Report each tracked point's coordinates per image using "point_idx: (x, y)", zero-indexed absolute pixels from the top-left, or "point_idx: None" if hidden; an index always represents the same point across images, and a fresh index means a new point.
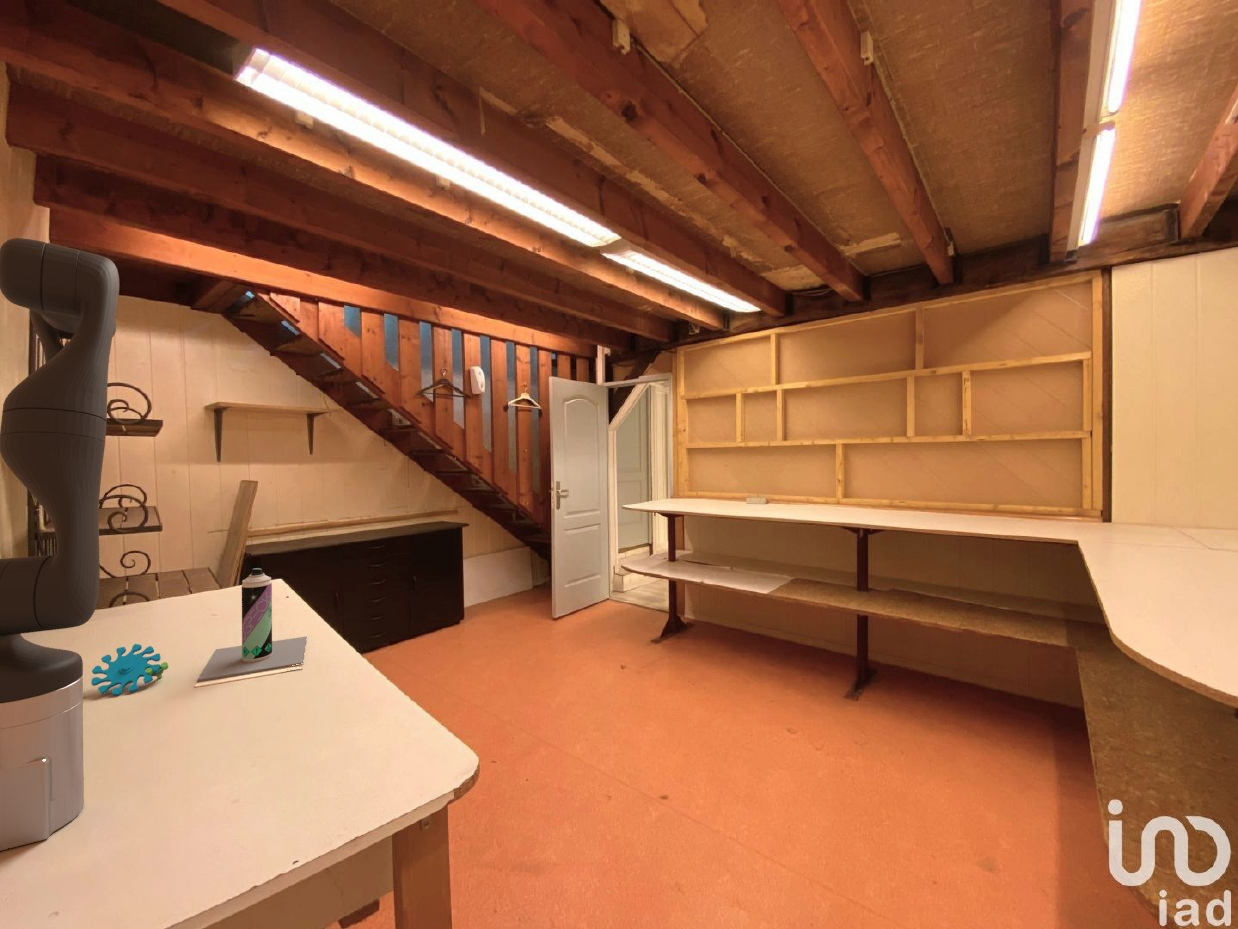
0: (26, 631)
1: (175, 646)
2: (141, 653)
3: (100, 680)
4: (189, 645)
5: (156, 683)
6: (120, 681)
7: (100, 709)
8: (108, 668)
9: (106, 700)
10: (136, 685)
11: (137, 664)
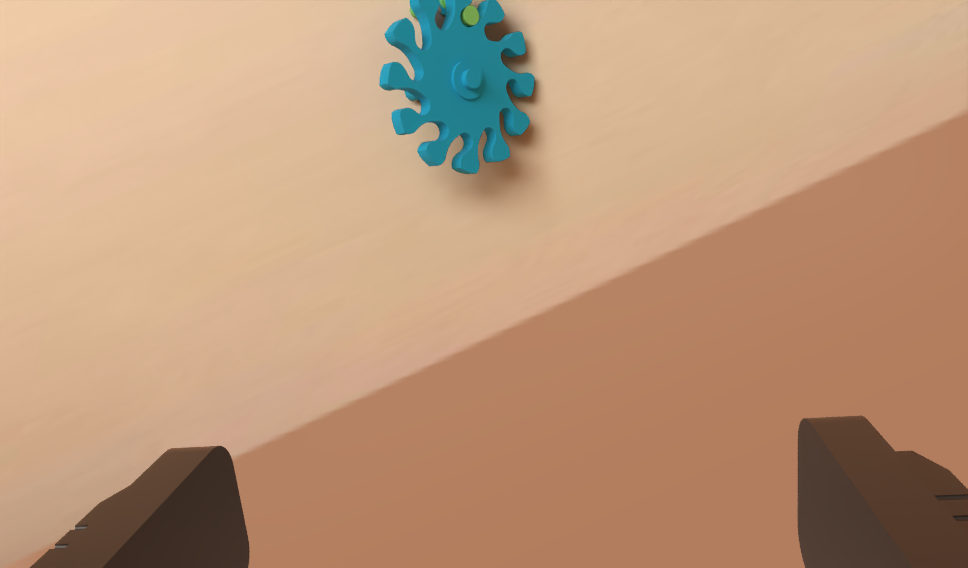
0: None
1: (95, 88)
2: (419, 52)
3: (501, 137)
4: (95, 41)
5: None
6: (503, 83)
7: (620, 84)
8: (468, 131)
9: (553, 98)
10: (514, 36)
11: (455, 53)
